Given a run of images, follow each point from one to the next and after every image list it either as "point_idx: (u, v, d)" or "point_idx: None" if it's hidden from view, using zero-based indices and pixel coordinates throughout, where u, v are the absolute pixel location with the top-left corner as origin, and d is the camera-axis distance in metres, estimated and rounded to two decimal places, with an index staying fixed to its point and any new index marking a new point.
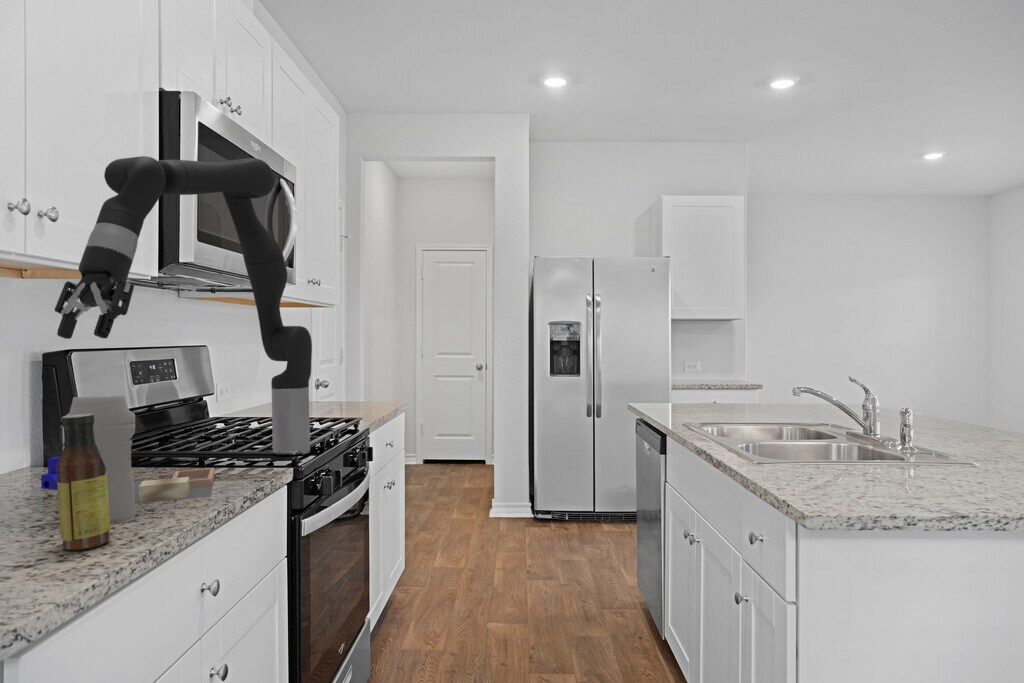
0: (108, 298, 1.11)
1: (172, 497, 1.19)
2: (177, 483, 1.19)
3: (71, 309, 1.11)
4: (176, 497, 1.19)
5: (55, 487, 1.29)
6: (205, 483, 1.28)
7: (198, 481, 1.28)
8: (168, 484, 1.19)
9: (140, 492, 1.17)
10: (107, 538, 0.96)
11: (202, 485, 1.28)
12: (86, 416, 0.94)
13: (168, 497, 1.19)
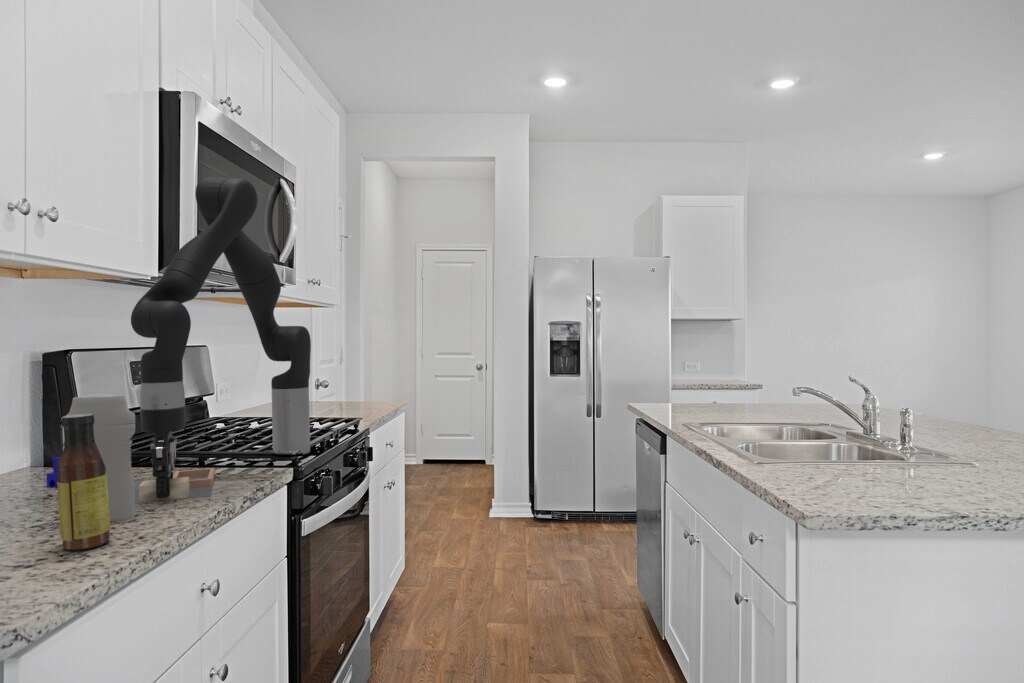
0: None
1: (172, 497, 1.19)
2: (177, 483, 1.19)
3: (161, 464, 1.22)
4: (176, 497, 1.19)
5: None
6: (205, 483, 1.28)
7: (198, 481, 1.28)
8: None
9: (140, 492, 1.17)
10: (107, 538, 0.96)
11: (202, 485, 1.28)
12: (86, 416, 0.94)
13: (168, 497, 1.19)
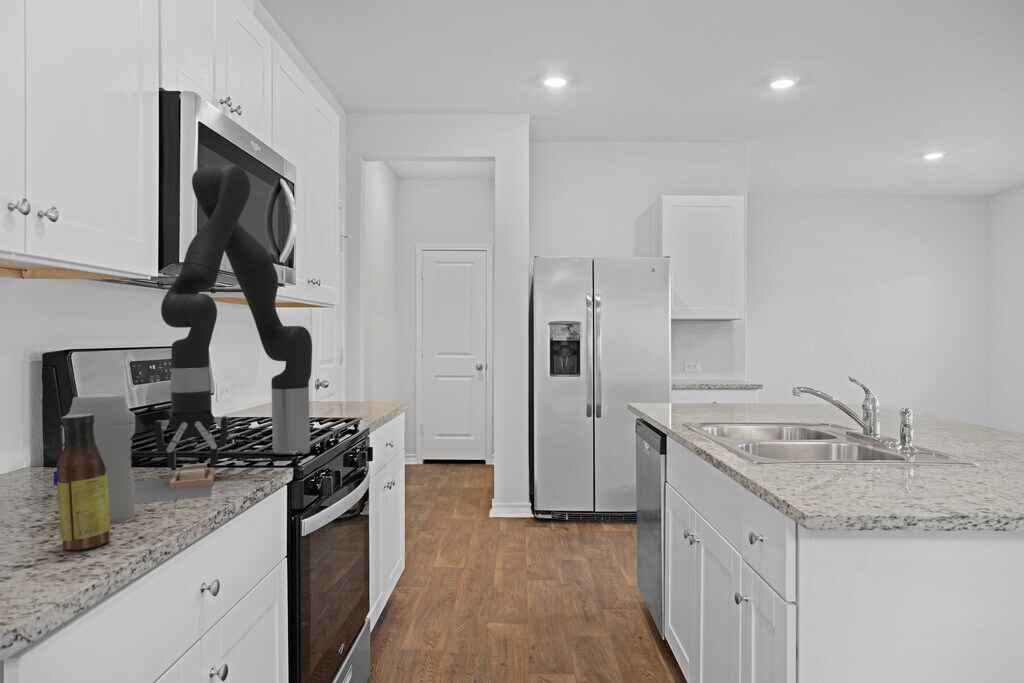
0: None
1: None
2: (205, 465, 1.35)
3: (175, 445, 1.30)
4: (206, 477, 1.35)
5: None
6: (205, 483, 1.28)
7: (198, 481, 1.28)
8: (205, 466, 1.34)
9: (204, 476, 1.30)
10: (107, 538, 0.96)
11: (202, 485, 1.28)
12: (86, 416, 0.94)
13: None
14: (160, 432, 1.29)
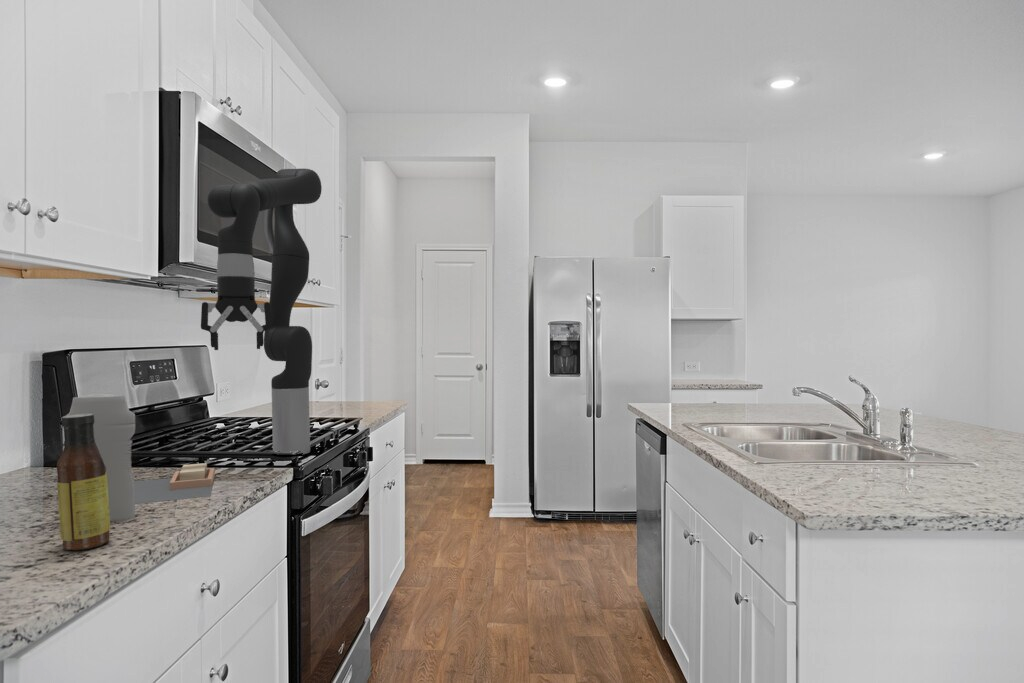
0: None
1: None
2: (205, 465, 1.35)
3: None
4: (206, 477, 1.35)
5: None
6: (205, 483, 1.28)
7: (198, 481, 1.28)
8: (205, 466, 1.34)
9: (204, 476, 1.30)
10: (107, 538, 0.96)
11: (202, 485, 1.28)
12: (86, 416, 0.94)
13: None
14: (206, 312, 1.35)
